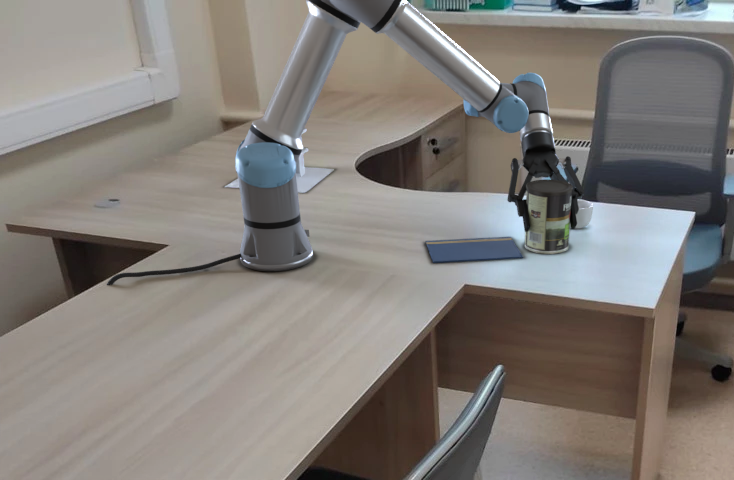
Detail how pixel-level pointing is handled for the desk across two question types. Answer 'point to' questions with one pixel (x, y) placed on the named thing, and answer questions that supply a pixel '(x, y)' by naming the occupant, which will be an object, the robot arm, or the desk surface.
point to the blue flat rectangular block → (473, 249)
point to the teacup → (583, 213)
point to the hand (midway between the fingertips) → (551, 227)
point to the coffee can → (548, 216)
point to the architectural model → (301, 174)
